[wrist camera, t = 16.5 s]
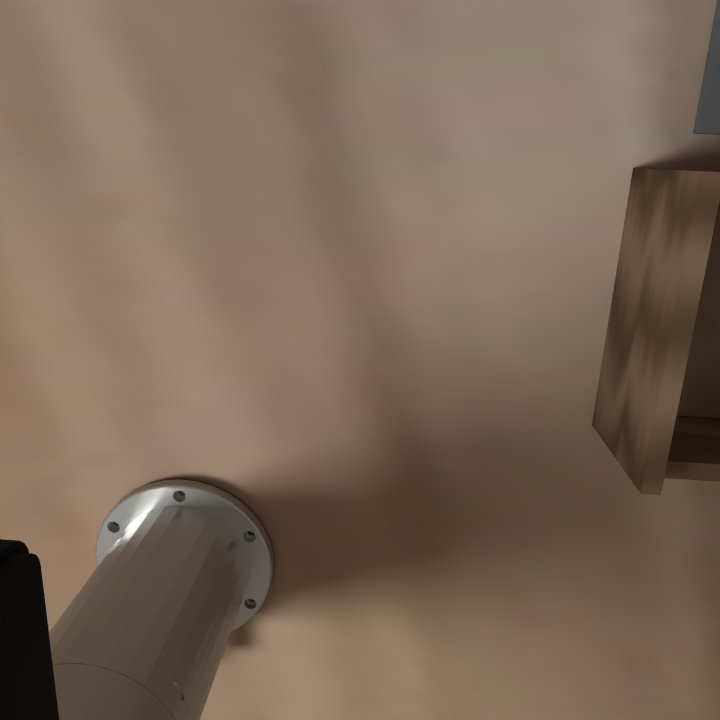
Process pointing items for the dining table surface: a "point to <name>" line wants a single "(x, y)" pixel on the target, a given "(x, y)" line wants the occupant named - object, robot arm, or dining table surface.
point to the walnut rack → (658, 331)
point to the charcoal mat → (711, 85)
